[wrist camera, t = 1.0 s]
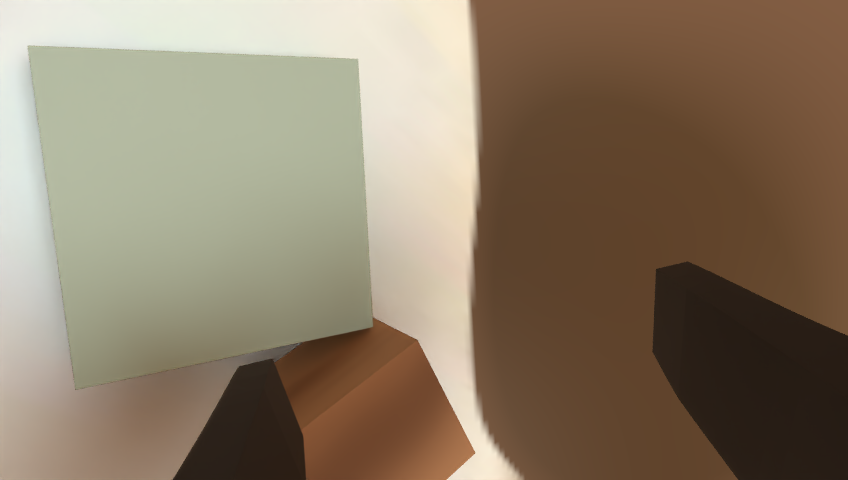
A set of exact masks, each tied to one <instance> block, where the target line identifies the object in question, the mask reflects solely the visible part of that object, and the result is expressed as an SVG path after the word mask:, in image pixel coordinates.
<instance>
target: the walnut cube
mask: <svg viewBox="0 0 848 480" xmlns="http://www.w3.org/2000/svg"><path fill="white" fill-rule="evenodd" d="M275 366H276V368H277V371H278V373H279V376H280V378H281V381H282V383H283V386H284V388H285V391H286V393H287V396H288V399H289V401H290V404H291V406H292V409H293V411H294V414H295V416H296V419H297V421H298V424H299V426H300V429H301V431H302V434H303V438H304V453H305V469H306V480H446V479H447V478H449V477H450V476H451V475H452V474H453V473H454V472H455V471H456V470H457V469H458V468H460V467H461V466H462V465H463V464H464V463H465V462H466V461H467V460H468V459H469V458H470V457H472V456H473V455H474V454H475V451H474V449H473V447H472V446H471V444H470V442H469V440H468V438H467V436H466V434H465V432H464V430H463V428H462V426H461V424H460V422H459V420H458V418H457V416H456V414H455V412H454V410H453V408H452V407H451V405H450V403H449V401H448V399H447V397H446V395H445V393H444V391H443V389H442V387H441V385H440V383H439V381H438V379H437V377H436V375H435V373H434V371H433V369H432V368H431V366H430V364H429V362H428V360H427V358H426V356H425V354H424V352H423V350H422V348H421V346H420V344H419V342H418V340H416V339H414V338H412V337H410V336H408V335H406V334H404V333H402V332H400V331H398V330H396V329H394V328H392V327H390V326H388V325H386V324H385V323H383V322H381V321H379V320H377V319H375V318H373V327H371V328H366V329H362V330H357V331H352V332H347V333H343V334H338V335H333V336H329V337H324V338H319V339H314V340H310V341H305V342H303V343H302V344H300V345H299V346H298V347H296V348H295V349H293V350H292V351H291V352H289V353H288V354H286V355H285V356H283V357H282V358H281V359H279V360H278V361H276V362H275Z"/></svg>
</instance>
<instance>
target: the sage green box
mask: <svg viewBox="0 0 848 480" xmlns="http://www.w3.org/2000/svg"><path fill="white" fill-rule="evenodd" d="M28 53H29V60H30V67H31V74H32V82H33V89H34V96H35V103H36V110H37V117H38V125H39V132H40V139H41V146H42V153H43V161H44V168H45V175H46V182H47V189H48V197H49V204H50V211H51V218H52V225H53V232H54V240H55V247H56V254H57V261H58V268H59V276H60V283H61V290H62V297H63V304H64V312H65V319H66V326H67V333H68V340H69V347H70V355H71V362H72V369H73V376H74V383H75V390H78V389H83V388H87V387H92V386H97V385H102V384H106V383H111V382H116V381H121V380H125V379H130V378H135V377H139V376H144V375H149V374H154V373H158V372H163V371H168V370H173V369H177V368H182V367H187V366H191V365H196V364H201V363H206V362H210V361H215V360H220V359H225V358H229V357H234V356H239V355H243V354H248V353H253V352H258V351H262V350H267V349H272V348H277V347H281V346H286V345H291V344H295V343H300V342H305V341H310V340H314V339H319V338H324V337H329V336H333V335H338V334H343V333H347V332H352V331H357V330H362V329H366V328H371V327H373V317H372V299H371V281H370V263H369V246H368V228H367V210H366V192H365V174H364V157H363V139H362V121H361V103H360V86H359V68H358V59H345V58H321V57H296V56H271V55H247V54H222V53H198V52H173V51H148V50H124V49H99V48H75V47H50V46H28Z"/></svg>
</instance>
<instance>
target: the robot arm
mask: <svg viewBox="0 0 848 480" xmlns="http://www.w3.org/2000/svg"><path fill="white" fill-rule="evenodd" d="M653 353H654V355H655V357H656V359H657V361H658V362H659V365H660V367H661V368H662V370H663V372H664V374H665V376H666V378H667V379H668V381H669V383H670V385H671V386H672V388H673V390H674V392H675V393H676V395H677V397H678V398H679V400H680V401H681V403H682V404H683V405H684V407H685V408H686V410H687V411H688V412H689V414H690V415H691V416H692V418H693V419H694V421H695V422H696V423H697V425H698V426H699V427H700V429H701V430H702V431H703V433H704V434H705V436H706V437H707V438H708V440H709V441H710V442H711V444H712V445H713V446H714V448H715V449H716V450H717V452H718V453H719V454H720V456H721V457H722V458H723V460H724V461H725V462H726V464H727V465H728V466H729V468H730V469H731V471H732V472H733V473H734V475H735V476H736V477H737V478H738V480H848V336H847V335H845V334H843V333H840V332H838V331H835V330H833V329H831V328H828V327H826V326H824V325H822V324H819V323H817V322H814V321H813V320H810V319H808V318H806V317H804V316H802V315H799V314H797V313H795V312H792V311H791V310H788V309H786V308H784V307H782V306H780V305H778V304H776V303H774V302H772V301H770V300H767V299H765V298H763V297H761V296H759V295H757V294H755V293H753V292H751V291H749V290H747V289H745V288H743V287H741V286H739V285H736V284H734V283H733V282H730V281H728V280H726V279H724V278H722V277H720V276H718V275H716V274H714V273H712V272H710V271H707V270H705V269H703V268H701V267H699V266H697V265H694V264H692V263H690V262H684V263H680V264H675V265H671V266H667V267H663V268H659V269H656V284H655V307H654V331H653ZM173 480H306V469H305V453H304V438H303V434H302V431H301V429H300V426H299V424H298V421H297V419H296V416H295V414H294V411H293V409H292V406H291V404H290V401H289V399H288V396H287V393H286V391H285V388H284V386H283V383H282V381H281V378H280V376H279V373H278V371H277V368H276V366H275V363H274V361H273V359H269V360H265V361H260V362H256V363H252V364H248V365H243V366H239V368H238V369H237V370H236V372H235V374H234V375H233V377H232V379H231V381H230V382H229V384H228V386H227V388H226V390H225V391H224V393H223V395H222V397H221V399H220V400H219V402H218V404H217V406H216V408H215V409H214V411H213V413H212V415H211V417H210V418H209V420H208V422H207V424H206V425H205V427H204V429H203V431H202V432H201V434H200V436H199V437H198V439H197V441H196V442H195V444H194V446H193V447H192V449H191V451H190V452H189V454H188V456H187V457H186V459H185V461H184V462H183V464H182V466H181V467H180V469H179V470H178V472H177V474H176V475H175V477H174V478H173Z"/></svg>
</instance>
